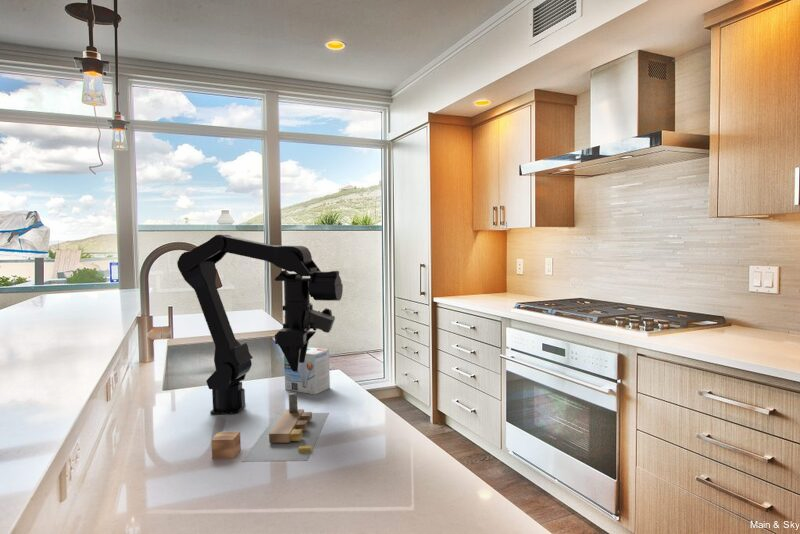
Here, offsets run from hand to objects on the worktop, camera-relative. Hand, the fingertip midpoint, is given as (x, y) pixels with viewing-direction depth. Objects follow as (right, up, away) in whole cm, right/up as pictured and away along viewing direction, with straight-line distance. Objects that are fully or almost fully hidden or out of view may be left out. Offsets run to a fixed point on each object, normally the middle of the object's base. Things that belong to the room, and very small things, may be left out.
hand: (298, 366), depth 118 cm
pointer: (+6, -12, -22) cm, 26 cm away
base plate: (+1, -12, -13) cm, 18 cm away
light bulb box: (-1, -10, +20) cm, 22 cm away
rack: (+1, -11, -11) cm, 16 cm away
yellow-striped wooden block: (-9, -13, -22) cm, 27 cm away
